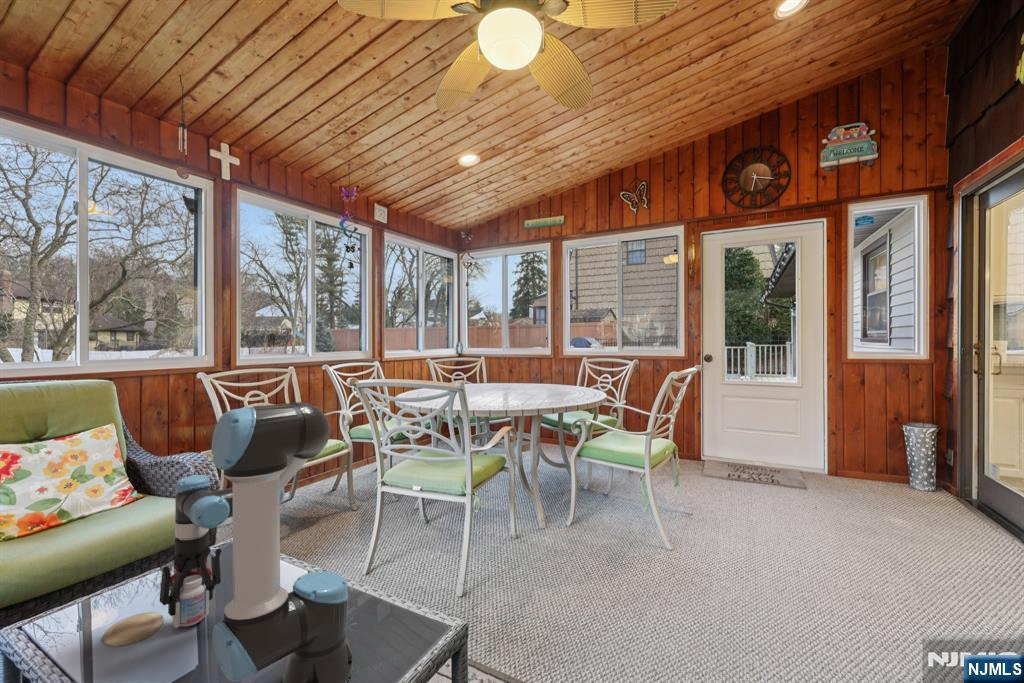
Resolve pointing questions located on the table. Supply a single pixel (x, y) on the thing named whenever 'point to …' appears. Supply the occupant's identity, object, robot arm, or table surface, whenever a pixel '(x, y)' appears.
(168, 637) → the table surface
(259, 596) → the robot arm
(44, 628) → the table surface
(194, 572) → the toy fire truck
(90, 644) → the table surface
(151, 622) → the plate
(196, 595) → the pill bottle
